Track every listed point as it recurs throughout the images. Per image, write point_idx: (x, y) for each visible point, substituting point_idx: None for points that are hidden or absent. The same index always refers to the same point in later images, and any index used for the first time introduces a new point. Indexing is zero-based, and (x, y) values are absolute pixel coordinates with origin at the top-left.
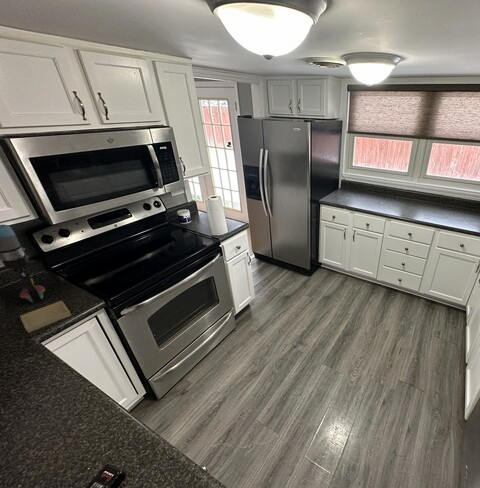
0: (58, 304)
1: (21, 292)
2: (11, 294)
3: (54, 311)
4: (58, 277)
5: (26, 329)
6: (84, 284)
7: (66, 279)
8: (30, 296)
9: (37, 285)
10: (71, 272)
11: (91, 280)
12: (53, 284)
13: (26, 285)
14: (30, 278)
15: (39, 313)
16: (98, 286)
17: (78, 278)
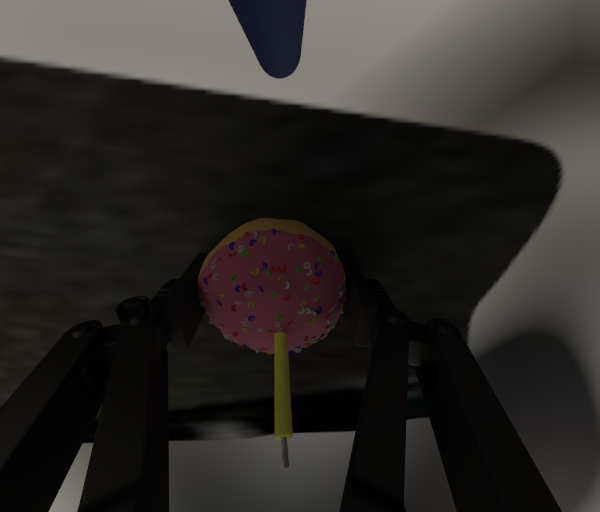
0: None
1: (268, 254)
2: (452, 170)
3: None
4: (415, 375)
5: None
6: (219, 418)
7: (351, 390)
8: (200, 271)
9: (293, 348)
10: (413, 411)
11: (240, 436)
12: (348, 351)
13: (4, 424)
14: (283, 436)
15: None
16: None
17: (311, 416)
